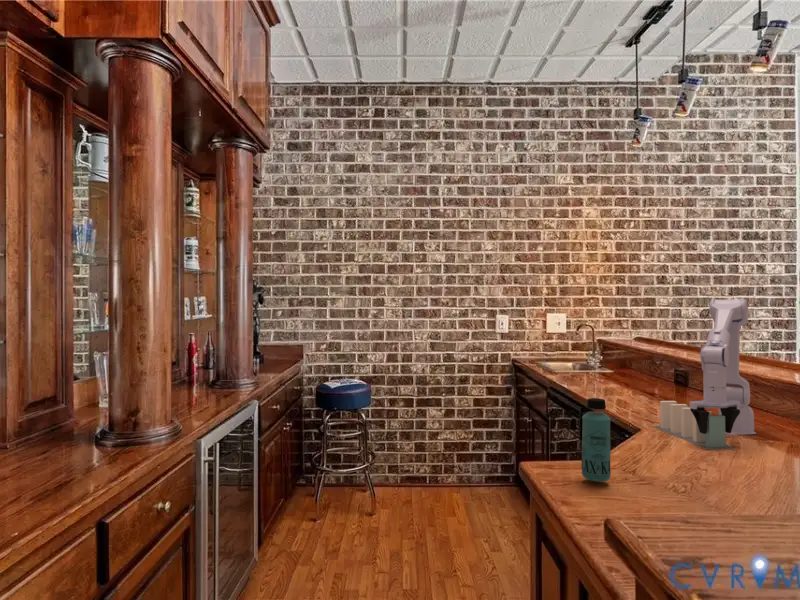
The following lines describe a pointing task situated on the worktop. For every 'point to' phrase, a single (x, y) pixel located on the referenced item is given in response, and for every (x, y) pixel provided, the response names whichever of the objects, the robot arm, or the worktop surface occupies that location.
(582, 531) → the worktop surface
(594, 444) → the beverage bottle
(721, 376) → the robot arm
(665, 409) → the ivory domino
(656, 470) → the worktop surface
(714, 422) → the teal domino
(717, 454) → the worktop surface
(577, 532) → the worktop surface
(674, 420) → the ivory domino
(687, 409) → the ivory domino
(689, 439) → the mat
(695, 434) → the ivory domino
